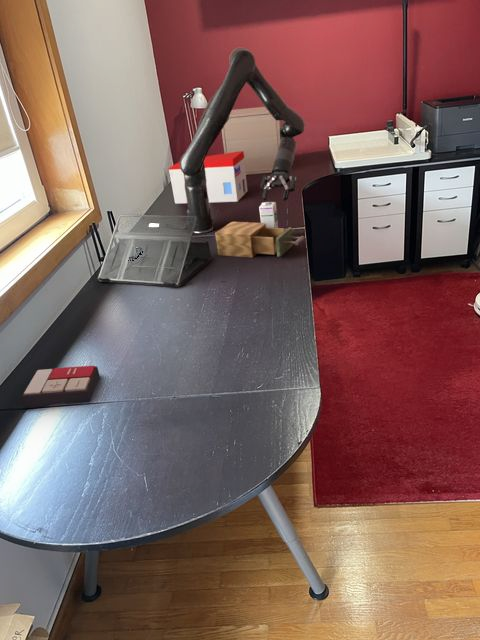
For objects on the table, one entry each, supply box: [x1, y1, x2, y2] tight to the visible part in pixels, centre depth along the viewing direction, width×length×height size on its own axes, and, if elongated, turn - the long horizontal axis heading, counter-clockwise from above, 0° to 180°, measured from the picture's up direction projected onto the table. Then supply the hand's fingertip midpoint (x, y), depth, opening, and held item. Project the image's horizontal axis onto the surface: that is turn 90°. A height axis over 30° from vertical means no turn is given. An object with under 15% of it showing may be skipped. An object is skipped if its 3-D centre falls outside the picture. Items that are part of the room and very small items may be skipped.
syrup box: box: [258, 201, 279, 228], centre depth 201 cm, size 6×6×14 cm
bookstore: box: [168, 151, 248, 205], centre depth 268 cm, size 21×35×21 cm, turn 77°
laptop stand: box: [96, 214, 212, 288], centre depth 182 cm, size 33×28×18 cm
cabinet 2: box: [214, 221, 266, 259], centre depth 195 cm, size 15×14×9 cm
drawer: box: [251, 226, 305, 258], centre depth 189 cm, size 20×13×7 cm, turn 65°
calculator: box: [21, 365, 100, 409], centre depth 122 cm, size 11×4×15 cm
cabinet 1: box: [221, 106, 281, 176], centre depth 317 cm, size 35×29×34 cm
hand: (274, 199), depth 202 cm, fingers open, 8 cm apart
